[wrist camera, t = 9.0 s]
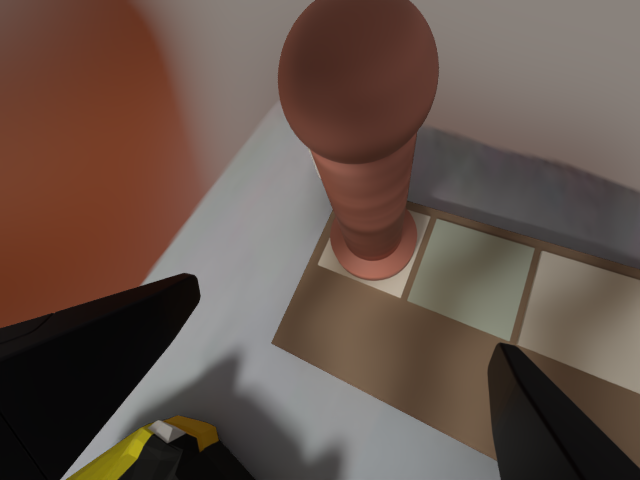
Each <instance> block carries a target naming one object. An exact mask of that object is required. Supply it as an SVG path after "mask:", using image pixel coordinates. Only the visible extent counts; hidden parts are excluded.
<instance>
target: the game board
mask: <svg viewBox="0 0 640 480" xmlns="http://www.w3.org/2000/svg"><path fill="white" fill-rule="evenodd" d="M406 209H407V210H408V211H409V212H410V214H411V215H412V217H413V219H414V221H415V224H416V228H417V242H416V246H415V250H414V253H413V256H412V258H411V260H410V262H409V263H408V264H407V266H406V267H405V268H404V269H403V270H402V271H401V272H399V273H398V274H396V275H395V276H393V277H391V278H388V279H385V280H379V281H369V280H363V279H360V278H357V277H355V276H353V275H351V274H350V273H349V272H347V271H346V270H345V269H344V268H343V267H342V266H341V264H340V263H339V261H338V259H337V258H336V256H335V254H334V252H333V250H332V246H331V242H330V231H331V226H332V223H333V221H334V219H335V217H336V216H335V214H334V211H333V210H332V213H331V215H330V217H329V219H328V221H327V223H326V226H325V228H324V230H323V232H322V234H321V236H320V239H319V241H318V243H317V245H316V247H315V249H314V252H313V254H312V256H311V258H310V260H309V262H308V265H307V267H306V269H305V271H304V273H303V275H302V278H301V280H300V282H299V284H298V286H297V288H296V291H295V293H294V295H293V297H292V299H291V301H290V304H289V306H288V308H287V310H286V312H285V314H284V316H283V319H282V321H281V323H280V325H279V327H278V329H277V332H276V334H275V336H274V338H273V340H272V342H271V343H272V344H273V345H275V346H277V347H279V348H281V349H283V350H285V351H287V352H289V353H291V354H293V355H295V356H297V357H298V358H300V359H302V360H304V361H306V362H308V363H310V364H312V365H314V366H316V367H318V368H320V369H322V370H323V371H325V372H327V373H329V374H331V375H333V376H335V377H337V378H339V379H341V380H343V381H345V382H346V383H348V384H350V385H352V386H354V387H356V388H358V389H360V390H362V391H364V392H366V393H368V394H370V395H371V396H373V397H375V398H377V399H379V400H381V401H383V402H385V403H387V404H389V405H391V406H393V407H395V408H396V409H398V410H400V411H402V412H404V413H406V414H408V415H410V416H412V417H414V418H416V419H418V420H420V421H421V422H423V423H425V424H427V425H429V426H431V427H433V428H435V429H437V430H439V431H441V432H443V433H445V434H446V435H448V436H450V437H452V438H454V439H456V440H458V441H460V442H462V443H464V444H466V445H468V446H469V447H471V448H473V449H475V450H477V451H479V452H481V453H483V454H485V455H487V456H489V457H491V458H493V459H494V460H496V461H497V457H496V452H495V447H494V441H493V435H492V426H491V414H490V401H489V388H488V376H487V370H488V365H489V362H490V359H491V357H492V354H493V351H494V349H495V346H496V345H497V344H498V343H500V342H502V343H507V344H511V345H515V346H517V347H518V348H520V349H521V350H522V351H523V352H524V353H525V354H526V355H527V356H528V357H529V358H530V359H531V360H532V361H533V362H534V363H535V364H536V365H537V366H538V367H539V368H540V369H541V370H542V371H543V372H544V373H545V374H546V375H547V376H548V377H549V378H550V379H551V380H552V381H553V382H554V383H555V384H556V385H557V386H558V387H559V388H560V389H561V390H562V391H563V392H564V393H565V394H566V395H567V396H568V397H569V398H570V399H571V400H572V401H573V402H574V403H575V404H576V405H577V406H578V407H579V408H580V409H581V410H582V411H583V412H584V413H585V414H586V415H587V416H588V417H589V418H590V419H591V420H592V421H593V422H594V423H595V424H596V425H597V426H598V427H599V428H600V429H601V430H602V431H603V432H604V433H605V434H606V435H607V436H608V437H609V438H610V439H611V440H612V441H613V442H614V443H615V444H616V445H617V446H618V447H619V448H620V449H621V450H622V451H623V452H624V453H625V454H626V455H627V456H628V457H629V458H630V459H631V460H632V461H633V462H634V463H635V464H636V465H637V466H638V467H639V468H640V269H636V268H633V267H630V266H626V265H623V264H620V263H616V262H613V261H609V260H606V259H603V258H599V257H596V256H592V255H589V254H586V253H582V252H579V251H575V250H572V249H569V248H565V247H562V246H558V245H555V244H552V243H548V242H545V241H542V240H538V239H535V238H531V237H528V236H525V235H521V234H518V233H514V232H511V231H508V230H504V229H501V228H497V227H494V226H491V225H487V224H484V223H480V222H477V221H474V220H470V219H467V218H464V217H460V216H457V215H453V214H450V213H447V212H443V211H440V210H436V209H433V208H430V207H426V206H423V205H419V204H416V203H413V202H409V201H407V202H406Z"/></svg>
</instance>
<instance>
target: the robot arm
mask: <svg viewBox="0 0 640 480" xmlns="http://www.w3.org/2000/svg"><path fill="white" fill-rule="evenodd" d="M200 296H201V295H200V289H199V284H198V279H197V277H196V276H195V275H192V274H188V273H182V274H179V275H175V276H172V277H169V278H165V279H162V280H159V281H156V282H152V283H149V284H146V285H143V286H139V287H137V288H133V289H129V290H126V291H123V292H120V293H116V294H113V295H110V296H107V297H103V298H100V299H97V300H93V301H90V302H87V303H84V304H80V305H77V306H74V307H70V308H67V309H64V310H61V311H58V312H55V313H51V314H47V315H44V316H41V317H37V318H35V319H31V320H27V321H24V322H21V323H17V324H14V325H10V326H6V327H3V328H0V480H60V479H61V478H62V477H63V476H64V474H65V473H66V472H67V471H68V469H69V468H70V467H71V466H72V465H73V463H74V462H75V461H76V460H77V458H78V457H79V456H80V455H81V453H82V452H83V451H84V450H85V449H86V447H87V446H88V445H89V444H90V442H91V441H92V440H93V439H94V437H95V436H96V435H97V434H98V433H99V431H100V430H101V429H102V428H103V426H104V425H105V424H106V423H107V422H108V420H109V419H110V418H111V417H112V415H113V414H114V413H115V412H116V410H117V409H118V408H119V407H120V406H121V404H122V403H123V402H124V401H125V399H126V398H127V397H128V396H129V395H130V393H131V392H132V391H133V390H134V388H135V387H136V386H137V385H138V383H139V382H140V381H141V380H142V379H143V377H144V376H145V375H146V374H147V372H148V371H149V370H150V369H151V368H152V366H153V365H154V364H155V363H156V361H157V360H158V359H159V358H160V356H161V355H162V354H163V353H164V352H165V350H166V349H167V348H168V347H169V345H170V344H171V343H172V341H173V340H174V339H175V337H176V336H177V334H178V333H179V331H180V330H181V328H182V327H183V326H184V324H185V323H186V321H187V320H188V318H189V317H190V315H191V314H192V312H193V311H194V309H195V308H196V306H197V305H198V303H199V301H200ZM487 376H488V388H489V401H490V414H491V426H492V435H493V441H494V447H495V452H496V457H497V462H498V467H499V472H500V477H501V480H640V468H639V467H638V466H637V465H636V464H635V463H634V462H633V461H632V460H631V459H630V458H629V457H628V456H627V455H626V454H625V453H624V452H623V451H622V450H621V449H620V448H619V447H618V446H617V445H616V444H615V443H614V442H613V441H612V440H611V439H610V438H609V437H608V436H607V435H606V434H605V433H604V432H603V431H602V430H601V429H600V428H599V427H598V426H597V425H596V424H595V423H594V422H593V421H592V420H591V419H590V418H589V417H588V416H587V415H586V414H585V413H584V412H583V411H582V410H581V409H580V408H579V407H578V406H577V405H576V404H575V403H574V402H573V401H572V400H571V399H570V398H569V397H568V396H567V395H566V394H565V393H564V392H563V391H562V390H561V389H560V388H559V387H558V386H557V385H556V384H555V383H554V382H553V381H552V380H551V379H550V378H549V377H548V376H547V375H546V374H545V373H544V372H543V371H542V370H541V369H540V368H539V367H538V366H537V365H536V364H535V363H534V362H533V361H532V360H531V359H530V358H529V357H528V356H527V355H526V354H525V353H524V352H523V351H522V350H521V349H520V348H518V347H517V346H515V345H511V344H507V343H502V342H500V343H498V344H497V345H496V346H495V349H494V351H493V354H492V357H491V359H490V362H489V365H488V370H487Z"/></svg>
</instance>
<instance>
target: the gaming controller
mask: <svg viewBox="0 0 640 480" xmlns="http://www.w3.org/2000/svg"><path fill="white" fill-rule="evenodd" d="M66 480H255V479H254V478H253V477H252V476H251V474H250V473H249V472H248V471H247V470H246V469H245V468H244V467H243V466H242V464H241V463H240V462H239V461H238V460H237V459H236V458H235V457H234V456H233V454H232V453H231V452H230V451H229V450H228V449H227V448H226V447H225V446H224V445H223V443H222V442H221V441H220V440H218V435H217V430H216V427H215V426H213V425H211V424H208V423H206V422H202V421H198V420H194V419H190V418H187V417H183V416H179V415H177V416H175V417H172V418H169V419H165V420H161V421H160V420H158V421H156V422H154V423H150V424H147V425H145V426H143V427H141V428H139V429H138V430H136V431H135V432H134V433H132V434H131V435H129V436H128V437H126V438H125V439H123V440H122V441H120V442H119V443H117V444H116V445H115V446H113V447H112V448H110V449H109V450H107V451H106V452H104V453H103V454H101V455H100V456H99V457H97V458H96V459H94V460H93V461H92V462H90V463H89V464H87V465H86V466H84V467H83V468H82V469H80V470H79V471H77V472H76V473H74V474H73V475H72V476H70V477H69V478H67V479H66Z"/></svg>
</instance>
